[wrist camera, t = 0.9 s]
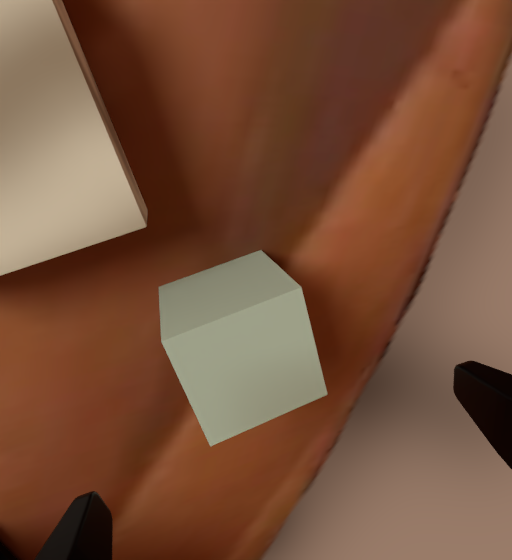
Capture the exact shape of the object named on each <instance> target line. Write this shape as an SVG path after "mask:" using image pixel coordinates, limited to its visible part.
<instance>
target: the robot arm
mask: <svg viewBox="0 0 512 560" xmlns="http://www.w3.org/2000/svg"><path fill="white" fill-rule="evenodd" d="M453 388H454V393H455V395H456V397H457V399H458V400H459V401H460V403H461V404H462V406H463V407H464V408H465V410H466V411H467V412H468V414H469V415H470V417H471V418H472V419H473V421H474V422H475V423H476V425H477V426H478V428H479V429H480V430H481V431H482V433H483V434H484V436H485V437H486V438H487V440H488V441H489V442H490V444H491V445H492V446H493V448H494V449H495V450H496V451H497V453H498V454H499V455H500V456H501V458H502V459H503V460H504V461H505V462H506V463H507V465H508V466H509V467H510V468H511V469H512V375H511V374H509V373H506V372H503V371H500V370H497V369H495V368H492V367H489V366H486V365H484V364H481V363H478V362H475V361H467V362H464V363H461V364H458V365H456V367H455V369H454V386H453ZM0 560H18V559H17V558H16V557H15V556H14V555H13V554H12V553H11V552H10V551H9V550H8V549H7V548H6V547H5V546H4V545H3V544H2V543H1V542H0ZM34 560H112V515H111V512H110V510H109V508H108V507H107V506H106V504H105V503H104V501H103V500H102V498H101V497H100V496H99V494H98V493H97V492H95V491H92V492H89V493H86V494H83V495H80V496H78V497H77V498H75V500H74V501H73V502H72V503H71V505H70V506H69V508H68V509H67V511H66V512H65V514H64V515H63V517H62V518H61V520H60V522H59V523H58V525H57V526H56V528H55V529H54V531H53V532H52V534H51V535H50V537H49V538H48V540H47V541H46V543H45V544H44V546H43V547H42V549H41V550H40V552H39V553H38V555H37V556H36V558H35V559H34Z"/></svg>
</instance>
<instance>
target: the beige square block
mask: <svg viewBox="0 0 512 560" xmlns="http://www.w3.org/2000/svg"><path fill="white" fill-rule="evenodd" d="M147 215H148V210H147V207H146V205H145V203H144V200H143V198H142V195H141V193H140V190H139V188H138V185H137V183H136V180H135V178H134V176H133V173H132V171H131V168H130V166H129V163H128V161H127V158H126V156H125V154H124V151H123V149H122V146H121V144H120V141H119V139H118V136H117V134H116V131H115V129H114V127H113V124H112V122H111V119H110V117H109V114H108V112H107V109H106V107H105V104H104V102H103V100H102V97H101V95H100V92H99V90H98V87H97V85H96V82H95V80H94V77H93V75H92V73H91V70H90V68H89V65H88V63H87V60H86V58H85V55H84V53H83V51H82V48H81V46H80V43H79V41H78V38H77V36H76V33H75V31H74V28H73V26H72V24H71V21H70V19H69V16H68V14H67V11H66V9H65V6H64V4H63V1H62V0H0V276H1V275H4V274H7V273H10V272H13V271H16V270H19V269H22V268H25V267H28V266H31V265H34V264H37V263H40V262H43V261H46V260H49V259H52V258H55V257H58V256H61V255H64V254H67V253H70V252H73V251H76V250H79V249H82V248H85V247H88V246H91V245H94V244H97V243H100V242H103V241H106V240H109V239H112V238H115V237H118V236H121V235H124V234H127V233H130V232H133V231H136V230H139V229H142V228H145V227H147Z"/></svg>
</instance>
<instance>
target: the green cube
mask: <svg viewBox="0 0 512 560" xmlns="http://www.w3.org/2000/svg"><path fill="white" fill-rule="evenodd" d="M159 304H160V324H161V342H162V344H163V346H164V348H165V350H166V352H167V354H168V357H169V359H170V361H171V363H172V365H173V367H174V369H175V372H176V374H177V376H178V378H179V380H180V382H181V384H182V387H183V389H184V391H185V393H186V395H187V397H188V399H189V402H190V404H191V406H192V408H193V410H194V412H195V415H196V417H197V419H198V421H199V423H200V425H201V427H202V430H203V432H204V434H205V436H206V438H207V440H208V442H209V445H210V446H212V445H215V444H217V443H219V442H221V441H224V440H226V439H228V438H231V437H233V436H235V435H237V434H240V433H242V432H244V431H246V430H249V429H251V428H253V427H255V426H258V425H260V424H262V423H264V422H267V421H269V420H271V419H273V418H276V417H278V416H280V415H283V414H285V413H287V412H289V411H292V410H294V409H296V408H298V407H301V406H303V405H305V404H307V403H310V402H312V401H314V400H316V399H319V398H321V397H323V396H325V395H328V394H327V390H326V386H325V382H324V378H323V374H322V370H321V365H320V361H319V357H318V353H317V349H316V345H315V341H314V337H313V332H312V328H311V324H310V320H309V316H308V312H307V308H306V304H305V300H304V295H303V291H302V287H301V286H300V285H299V284H298V283H296V282H295V281H294V280H293V279H292V278H291V277H290V276H289V275H288V274H287V273H286V272H284V271H283V270H282V269H281V268H280V267H279V266H278V265H277V264H276V263H275V262H274V261H272V260H271V259H270V258H269V257H268V256H267V255H266V254H265V253H264V252H263V251H262V250H260V251H257V252H254V253H251V254H248V255H246V256H243V257H240V258H237V259H235V260H232V261H229V262H226V263H224V264H221V265H218V266H215V267H213V268H210V269H207V270H204V271H202V272H199V273H196V274H193V275H190V276H188V277H185V278H182V279H179V280H177V281H174V282H171V283H168V284H166V285H163V286H160V287H159Z"/></svg>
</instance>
